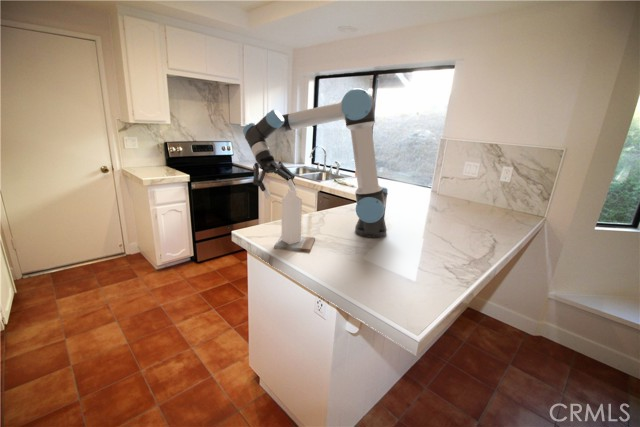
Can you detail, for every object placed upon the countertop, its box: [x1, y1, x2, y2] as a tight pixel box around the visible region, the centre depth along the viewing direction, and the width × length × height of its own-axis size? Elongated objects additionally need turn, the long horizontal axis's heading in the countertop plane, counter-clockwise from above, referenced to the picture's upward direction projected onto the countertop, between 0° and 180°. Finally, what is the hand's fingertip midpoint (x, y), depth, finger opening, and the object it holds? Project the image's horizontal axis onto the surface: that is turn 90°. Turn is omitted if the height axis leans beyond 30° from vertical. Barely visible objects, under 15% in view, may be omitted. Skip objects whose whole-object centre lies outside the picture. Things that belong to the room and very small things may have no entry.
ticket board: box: [273, 235, 316, 253], centre depth 129 cm, size 15×13×1 cm
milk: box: [280, 189, 303, 244], centre depth 126 cm, size 6×6×22 cm
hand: (282, 194), depth 128 cm, fingers open, 13 cm apart
